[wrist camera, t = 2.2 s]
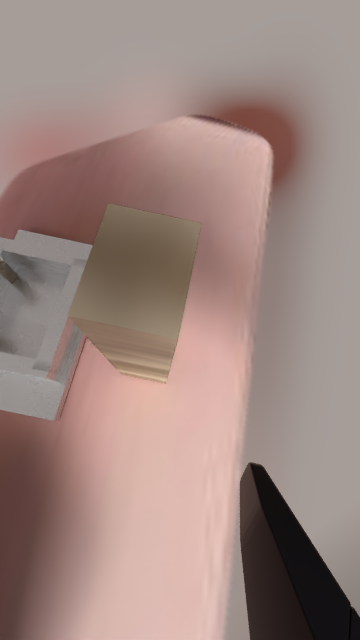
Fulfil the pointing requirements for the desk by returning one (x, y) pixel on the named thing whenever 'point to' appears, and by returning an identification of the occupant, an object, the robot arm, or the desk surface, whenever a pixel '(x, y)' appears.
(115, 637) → the desk surface
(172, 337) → the tan wooden block
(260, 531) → the robot arm
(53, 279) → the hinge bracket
